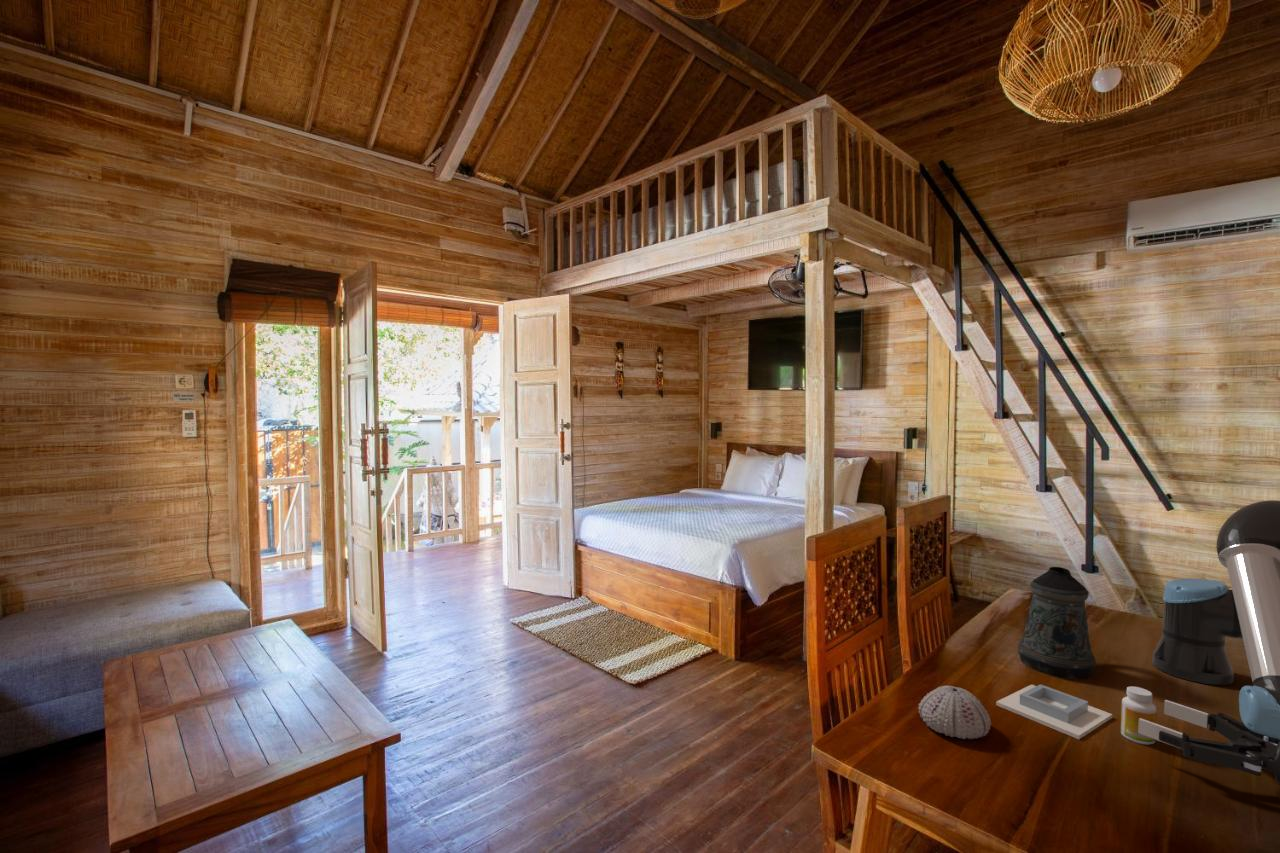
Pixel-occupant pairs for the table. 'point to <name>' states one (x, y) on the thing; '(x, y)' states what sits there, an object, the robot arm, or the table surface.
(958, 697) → the sea urchin shell
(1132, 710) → the supplement bottle
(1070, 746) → the table surface
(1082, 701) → the socket
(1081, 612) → the beer stein
